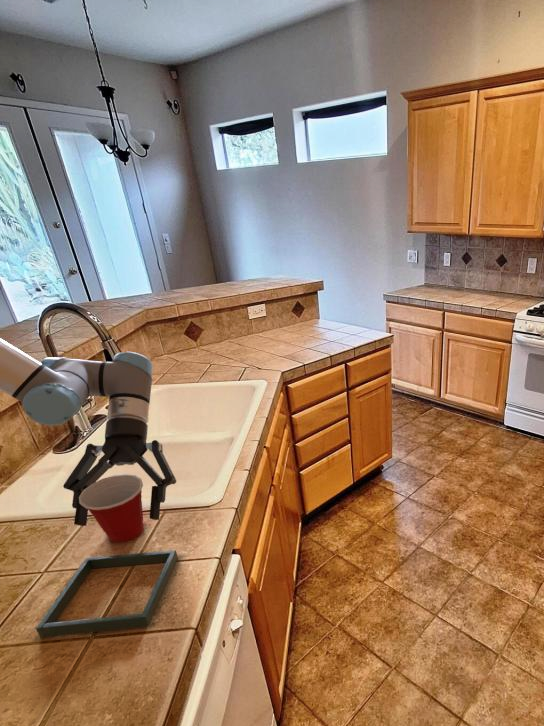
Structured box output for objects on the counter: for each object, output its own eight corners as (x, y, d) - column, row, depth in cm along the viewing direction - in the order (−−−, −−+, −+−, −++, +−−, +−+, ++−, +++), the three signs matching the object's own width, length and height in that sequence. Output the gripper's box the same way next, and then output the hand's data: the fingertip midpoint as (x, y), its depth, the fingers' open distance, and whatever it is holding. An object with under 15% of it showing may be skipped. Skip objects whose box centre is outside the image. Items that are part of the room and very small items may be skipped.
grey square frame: (42, 642, 67) (35, 628, 65) (91, 570, 80) (86, 557, 79) (150, 630, 69) (145, 616, 67) (179, 562, 83) (175, 550, 81)
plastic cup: (84, 555, 84) (63, 505, 78) (115, 521, 93) (98, 474, 88) (140, 554, 84) (124, 504, 79) (165, 520, 94) (152, 474, 88)
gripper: (52, 418, 86) (35, 525, 80) (183, 412, 90) (177, 513, 83) (74, 431, 93) (60, 529, 87) (195, 425, 97) (190, 519, 90)
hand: (117, 522), depth 85 cm, fingers open, 13 cm apart
